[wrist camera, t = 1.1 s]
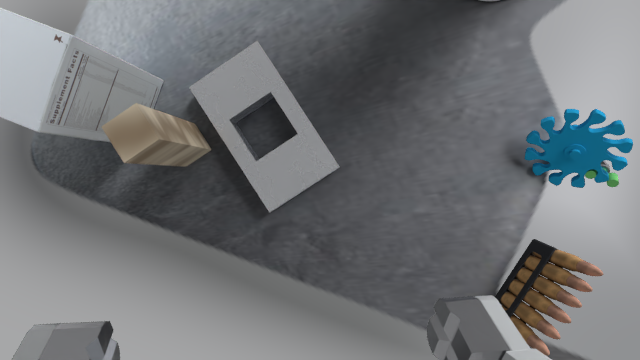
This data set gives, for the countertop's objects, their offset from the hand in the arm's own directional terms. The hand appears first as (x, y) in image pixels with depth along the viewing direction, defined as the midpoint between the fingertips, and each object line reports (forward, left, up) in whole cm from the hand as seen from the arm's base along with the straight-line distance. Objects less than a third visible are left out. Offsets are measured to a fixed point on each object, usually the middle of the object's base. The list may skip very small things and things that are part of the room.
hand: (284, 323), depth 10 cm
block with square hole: (-7, -11, -38) cm, 40 cm away
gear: (-15, +24, -39) cm, 48 cm away
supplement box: (-4, -30, -39) cm, 49 cm away
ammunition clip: (+1, +24, -39) cm, 46 cm away
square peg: (-2, -20, -38) cm, 43 cm away
